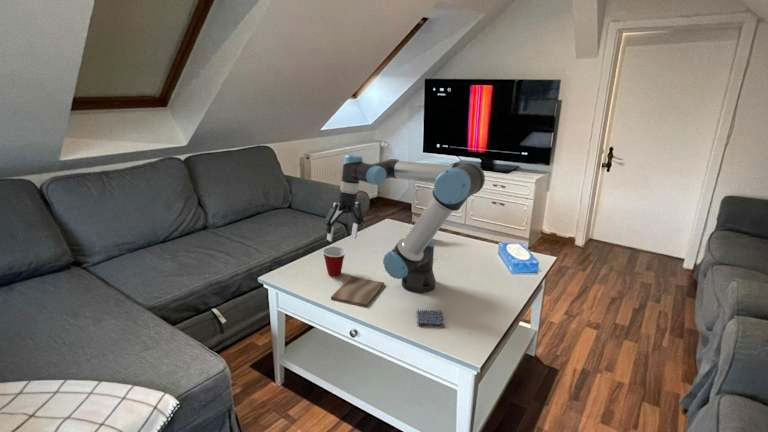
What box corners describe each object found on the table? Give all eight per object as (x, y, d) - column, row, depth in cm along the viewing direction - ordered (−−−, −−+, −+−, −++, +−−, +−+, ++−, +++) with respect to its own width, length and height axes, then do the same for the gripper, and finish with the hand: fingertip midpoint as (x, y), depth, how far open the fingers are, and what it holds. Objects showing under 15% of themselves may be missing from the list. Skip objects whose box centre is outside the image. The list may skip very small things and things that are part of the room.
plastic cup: (342, 280, 186) (342, 256, 183) (319, 278, 188) (319, 254, 185) (349, 270, 197) (349, 247, 193) (327, 267, 199) (327, 244, 195)
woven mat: (442, 313, 163) (442, 309, 162) (445, 329, 153) (445, 324, 152) (416, 312, 163) (416, 308, 163) (417, 328, 153) (417, 323, 152)
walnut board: (384, 284, 183) (384, 282, 183) (366, 307, 166) (366, 304, 165) (351, 278, 189) (351, 276, 188) (331, 299, 171) (330, 296, 171)
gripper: (364, 189, 186) (357, 234, 191) (319, 189, 169) (313, 238, 173) (375, 193, 181) (368, 239, 186) (330, 194, 164) (323, 244, 168)
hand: (341, 239), depth 180 cm, fingers open, 13 cm apart
